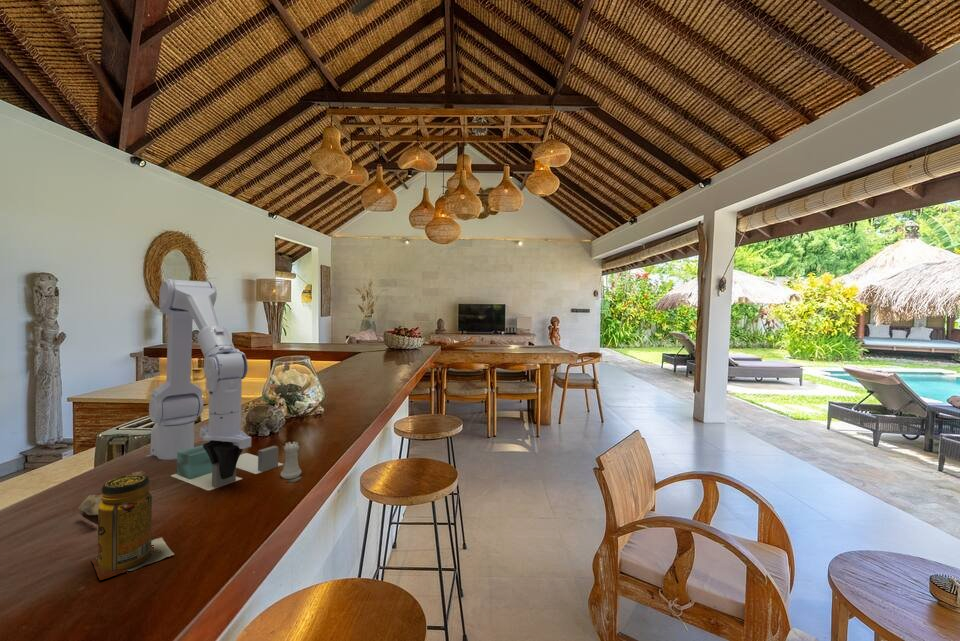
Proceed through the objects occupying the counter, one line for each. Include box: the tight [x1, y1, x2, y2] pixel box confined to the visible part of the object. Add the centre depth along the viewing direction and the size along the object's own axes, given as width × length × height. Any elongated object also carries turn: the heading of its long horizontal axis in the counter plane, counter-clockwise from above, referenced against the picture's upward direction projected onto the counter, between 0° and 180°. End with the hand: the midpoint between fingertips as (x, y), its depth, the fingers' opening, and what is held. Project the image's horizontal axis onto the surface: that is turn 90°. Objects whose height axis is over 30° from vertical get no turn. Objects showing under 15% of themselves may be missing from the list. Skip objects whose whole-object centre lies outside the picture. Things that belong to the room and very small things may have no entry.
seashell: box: [77, 470, 146, 516], centre depth 77 cm, size 8×17×5 cm, turn 33°
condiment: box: [97, 474, 175, 572], centre depth 62 cm, size 7×8×12 cm
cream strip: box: [170, 462, 243, 492], centre depth 89 cm, size 14×7×5 cm, turn 62°
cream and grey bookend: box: [236, 445, 284, 475], centre depth 98 cm, size 14×7×5 cm, turn 62°
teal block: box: [176, 445, 212, 479], centre depth 91 cm, size 5×5×5 cm
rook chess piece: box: [280, 441, 303, 484], centre depth 92 cm, size 4×4×8 cm
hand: (224, 476), depth 86 cm, fingers closed on cream strip
